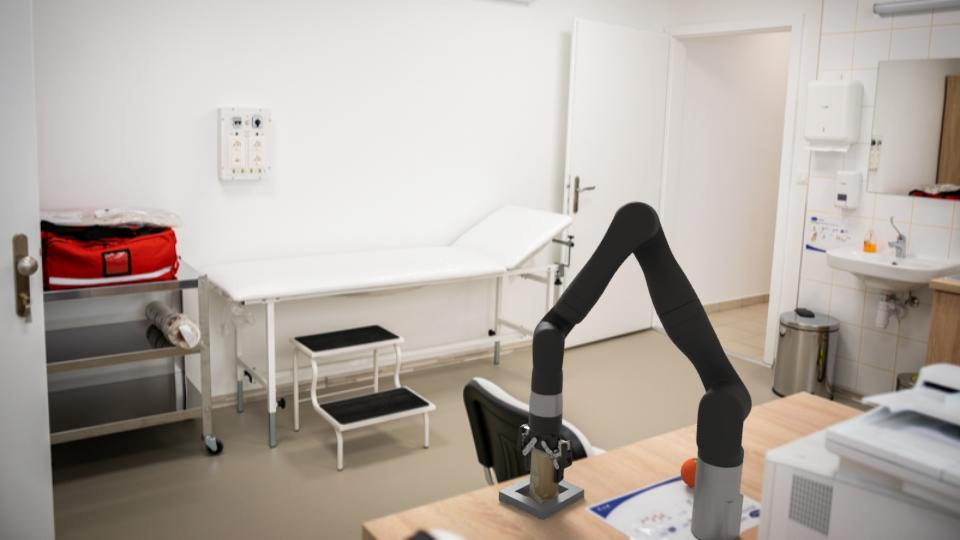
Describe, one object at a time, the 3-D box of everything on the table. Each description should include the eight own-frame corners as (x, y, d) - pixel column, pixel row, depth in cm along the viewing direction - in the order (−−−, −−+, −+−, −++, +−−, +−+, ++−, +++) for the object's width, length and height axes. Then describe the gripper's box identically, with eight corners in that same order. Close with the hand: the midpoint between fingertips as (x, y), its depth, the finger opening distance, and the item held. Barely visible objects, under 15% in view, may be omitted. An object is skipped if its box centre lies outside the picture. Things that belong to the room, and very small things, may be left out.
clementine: (717, 493, 187) (720, 465, 185) (691, 497, 185) (694, 468, 183) (698, 478, 194) (701, 451, 193) (673, 481, 192) (676, 454, 191)
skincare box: (528, 494, 184) (530, 445, 182) (544, 490, 186) (546, 442, 183) (542, 507, 178) (544, 456, 176) (558, 503, 180) (561, 453, 178)
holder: (584, 497, 183) (584, 489, 183) (542, 520, 173) (543, 512, 172) (540, 478, 192) (540, 470, 192) (498, 499, 181) (499, 491, 181)
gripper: (581, 413, 176) (578, 481, 179) (532, 396, 185) (529, 460, 189) (560, 422, 170) (557, 492, 174) (511, 404, 180) (508, 470, 183)
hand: (543, 475), depth 181 cm, fingers open, 8 cm apart
